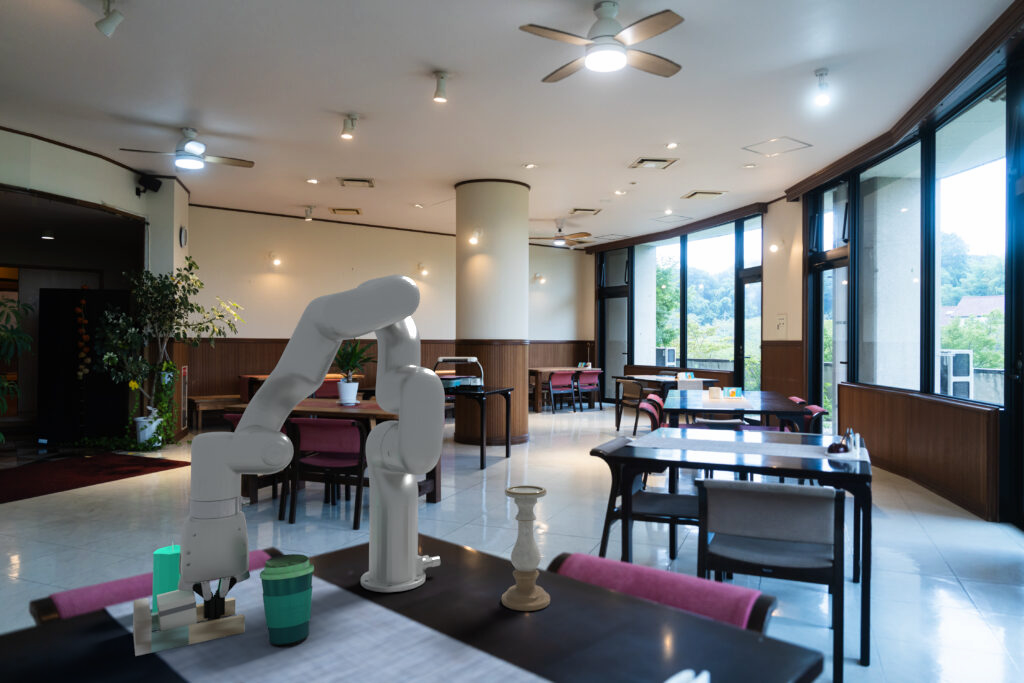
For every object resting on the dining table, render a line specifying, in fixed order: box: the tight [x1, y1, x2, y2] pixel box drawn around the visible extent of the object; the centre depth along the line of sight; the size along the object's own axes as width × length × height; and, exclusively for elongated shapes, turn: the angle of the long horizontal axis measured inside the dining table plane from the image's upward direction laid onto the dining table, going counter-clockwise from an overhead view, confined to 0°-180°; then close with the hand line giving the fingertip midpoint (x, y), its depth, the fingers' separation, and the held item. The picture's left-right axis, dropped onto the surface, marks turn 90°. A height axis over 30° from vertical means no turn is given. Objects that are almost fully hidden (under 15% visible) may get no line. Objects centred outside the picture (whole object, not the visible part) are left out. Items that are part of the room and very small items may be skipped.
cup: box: [259, 553, 315, 648], centre depth 99 cm, size 8×8×12 cm
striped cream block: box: [157, 590, 198, 631], centre depth 99 cm, size 5×5×6 cm
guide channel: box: [132, 597, 246, 657], centre depth 100 cm, size 15×10×5 cm, turn 123°
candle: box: [151, 540, 180, 613], centre depth 110 cm, size 6×6×12 cm
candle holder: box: [501, 484, 551, 612], centre depth 113 cm, size 9×9×20 cm
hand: (214, 620), depth 102 cm, fingers closed
